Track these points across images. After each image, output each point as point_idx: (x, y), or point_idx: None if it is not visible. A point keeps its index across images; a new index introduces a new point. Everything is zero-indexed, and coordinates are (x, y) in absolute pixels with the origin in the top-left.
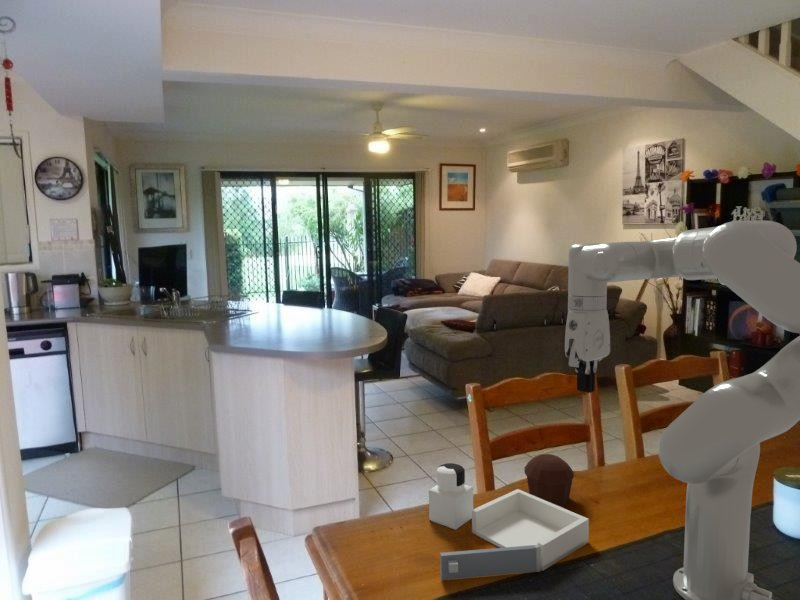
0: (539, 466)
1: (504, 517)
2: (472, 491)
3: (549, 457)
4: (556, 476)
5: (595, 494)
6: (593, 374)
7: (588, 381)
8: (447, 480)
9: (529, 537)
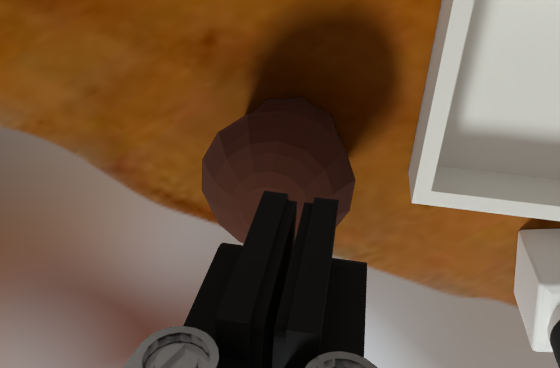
0: None
1: (489, 170)
2: (544, 275)
3: None
4: (320, 143)
5: (172, 64)
6: (254, 314)
7: (327, 286)
8: None
9: (558, 65)
